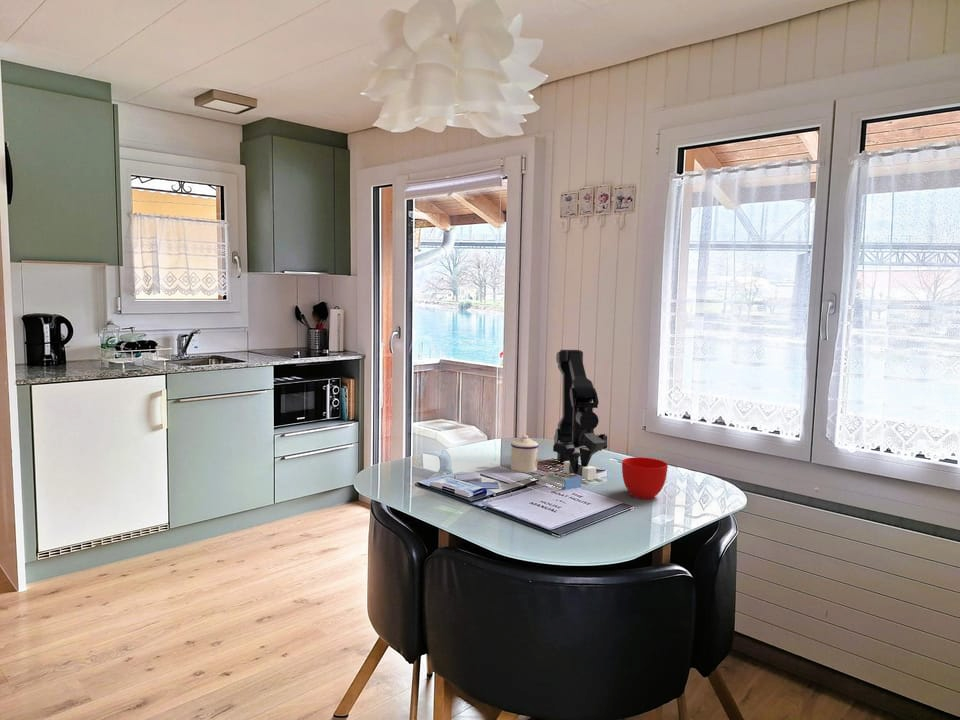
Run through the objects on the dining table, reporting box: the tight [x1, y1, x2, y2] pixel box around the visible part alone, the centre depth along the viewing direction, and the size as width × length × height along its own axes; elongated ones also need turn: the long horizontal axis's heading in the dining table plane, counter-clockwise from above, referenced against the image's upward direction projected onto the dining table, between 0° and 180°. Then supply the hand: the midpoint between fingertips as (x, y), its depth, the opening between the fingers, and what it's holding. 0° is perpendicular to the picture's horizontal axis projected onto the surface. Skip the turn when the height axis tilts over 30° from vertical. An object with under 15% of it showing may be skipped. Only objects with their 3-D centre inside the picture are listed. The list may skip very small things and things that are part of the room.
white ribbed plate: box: [532, 471, 609, 492], centre depth 213 cm, size 15×22×3 cm
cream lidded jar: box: [510, 434, 539, 473], centre depth 226 cm, size 12×9×12 cm
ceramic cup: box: [621, 456, 668, 500], centre depth 201 cm, size 13×17×10 cm
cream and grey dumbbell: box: [563, 461, 597, 480], centre depth 216 cm, size 11×4×4 cm, turn 35°
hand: (579, 472), depth 216 cm, fingers closed on cream and grey dumbbell, 3 cm apart
